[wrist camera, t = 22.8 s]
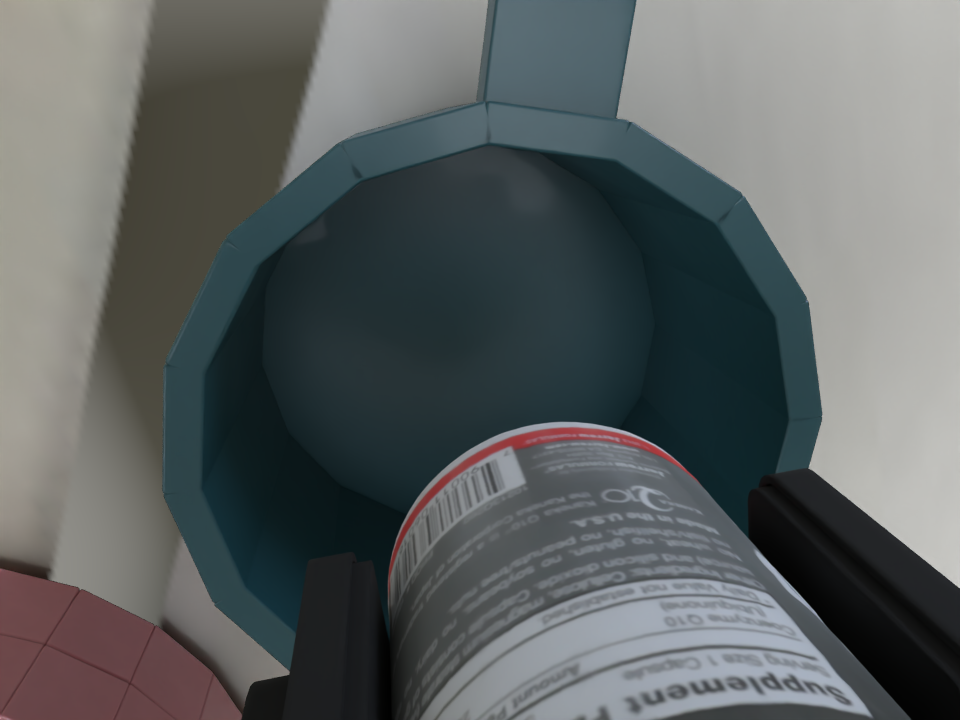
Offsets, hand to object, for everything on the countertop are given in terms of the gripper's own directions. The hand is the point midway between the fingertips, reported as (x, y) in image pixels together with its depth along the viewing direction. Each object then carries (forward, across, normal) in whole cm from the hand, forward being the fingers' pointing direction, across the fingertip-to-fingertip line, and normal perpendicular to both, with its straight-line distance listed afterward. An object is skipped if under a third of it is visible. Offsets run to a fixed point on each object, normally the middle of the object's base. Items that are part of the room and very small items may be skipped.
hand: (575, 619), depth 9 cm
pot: (+13, 0, 0) cm, 13 cm away
